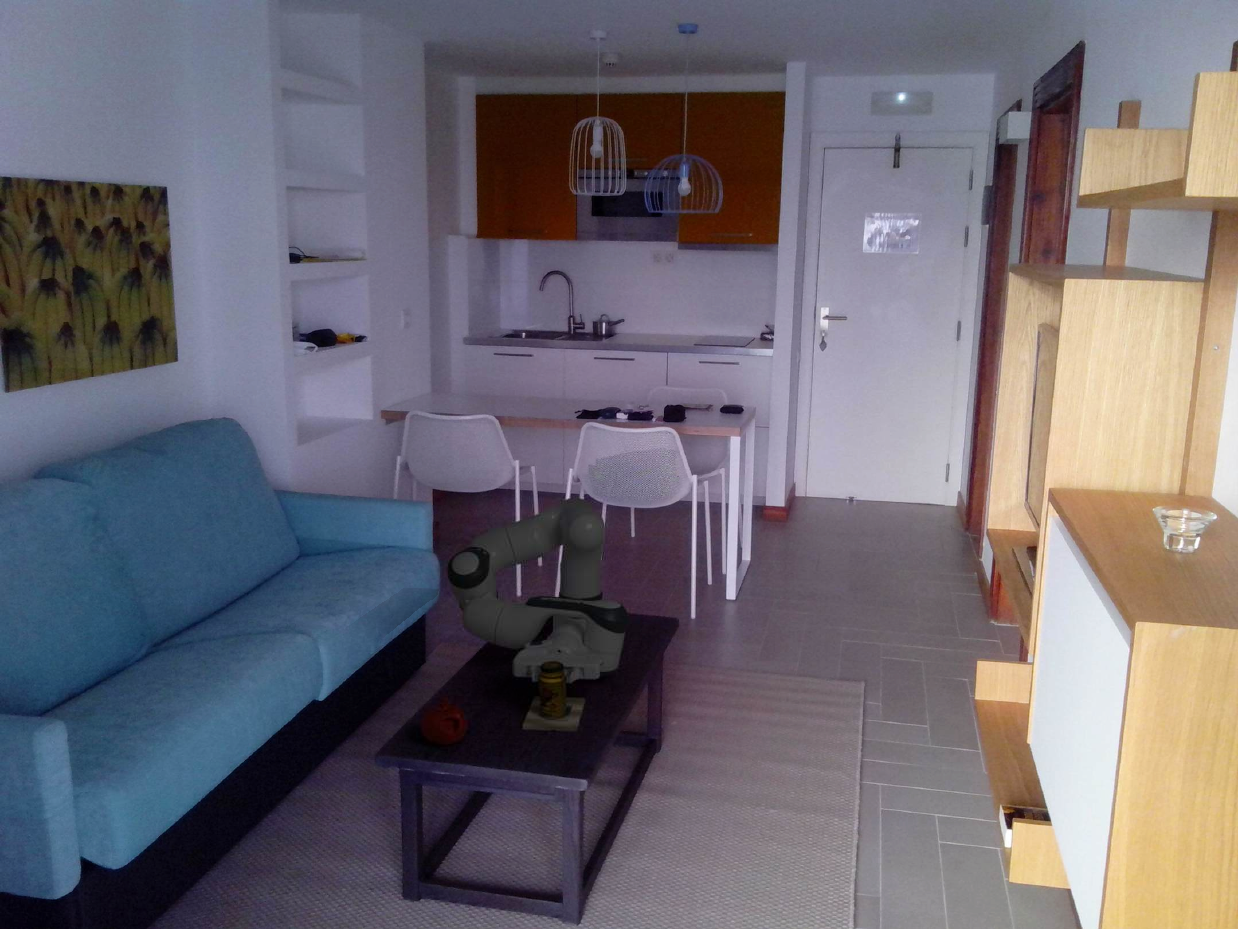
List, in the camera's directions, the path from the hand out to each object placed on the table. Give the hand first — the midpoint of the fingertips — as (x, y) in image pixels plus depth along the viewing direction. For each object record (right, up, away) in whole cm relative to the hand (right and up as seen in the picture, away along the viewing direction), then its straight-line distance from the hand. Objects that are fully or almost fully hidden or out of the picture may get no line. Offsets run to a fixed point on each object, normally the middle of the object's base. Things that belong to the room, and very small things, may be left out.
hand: (552, 679), depth 235 cm
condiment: (0, -9, +3) cm, 9 cm away
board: (0, -9, +5) cm, 10 cm away
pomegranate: (-23, -12, -7) cm, 27 cm away
